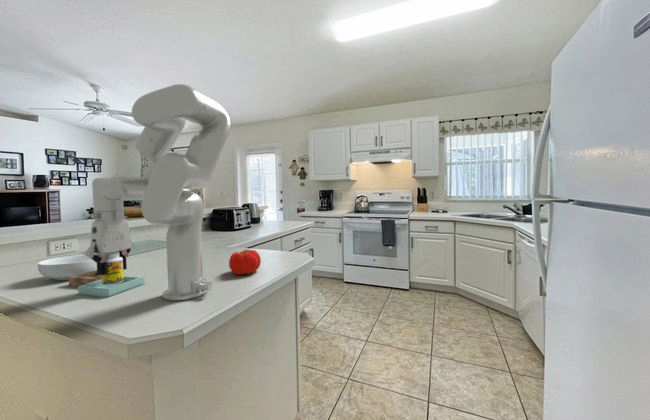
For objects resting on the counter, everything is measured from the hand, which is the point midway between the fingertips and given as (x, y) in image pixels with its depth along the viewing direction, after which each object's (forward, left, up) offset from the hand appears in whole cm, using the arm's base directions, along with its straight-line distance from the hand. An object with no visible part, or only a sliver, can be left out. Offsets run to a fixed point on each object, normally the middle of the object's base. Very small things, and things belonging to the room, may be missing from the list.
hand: (112, 271), depth 87 cm
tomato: (-33, -25, -6) cm, 42 cm away
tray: (0, 0, -6) cm, 6 cm away
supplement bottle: (0, 0, -4) cm, 4 cm away
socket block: (+14, -5, -6) cm, 16 cm away
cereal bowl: (+30, -8, -6) cm, 32 cm away
